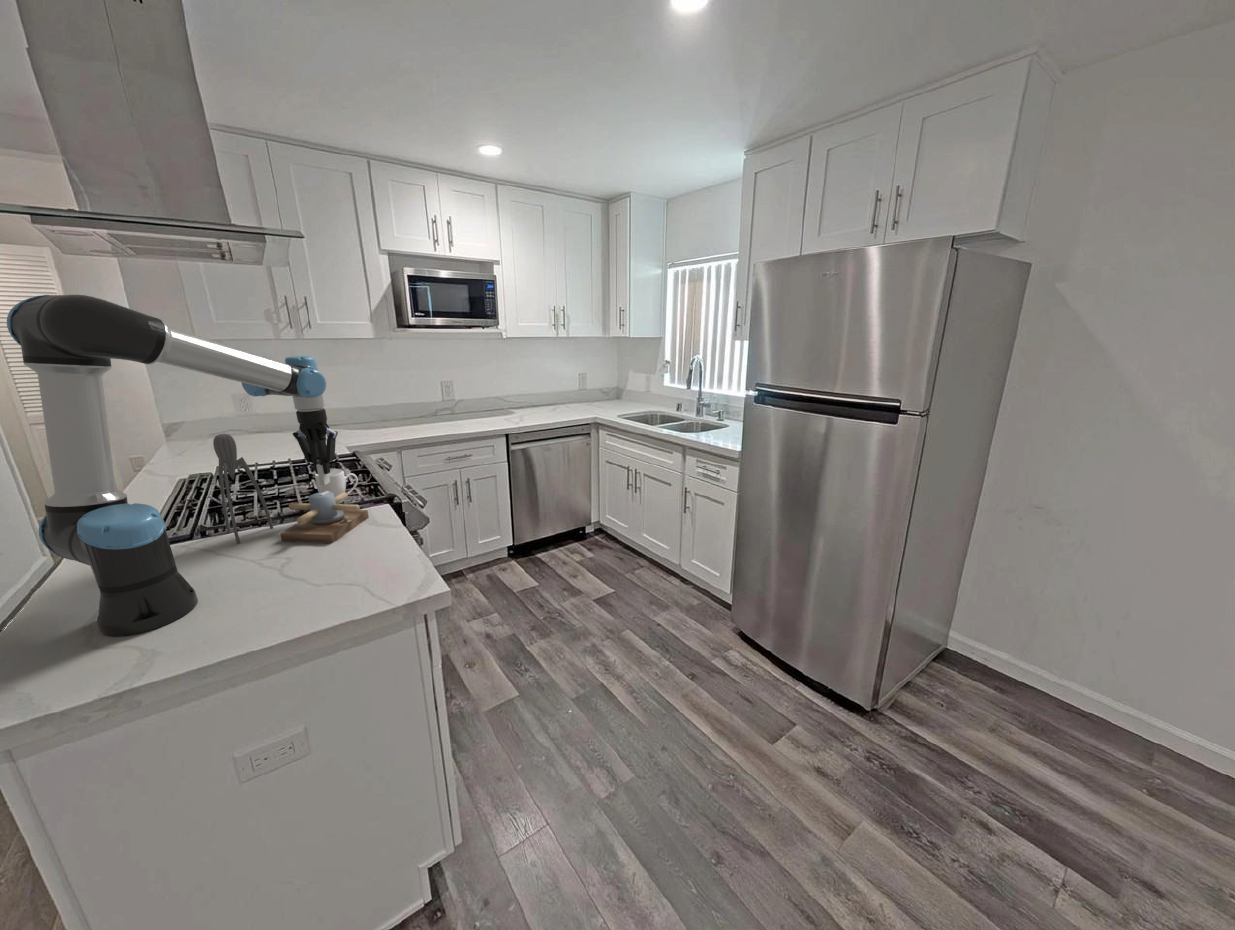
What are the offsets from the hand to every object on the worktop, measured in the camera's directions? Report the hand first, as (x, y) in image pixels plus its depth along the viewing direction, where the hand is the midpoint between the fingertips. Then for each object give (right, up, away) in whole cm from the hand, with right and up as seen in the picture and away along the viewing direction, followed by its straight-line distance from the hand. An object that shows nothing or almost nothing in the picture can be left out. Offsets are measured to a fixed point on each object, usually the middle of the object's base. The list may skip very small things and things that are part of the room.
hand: (325, 483), depth 150 cm
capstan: (+5, -10, -7) cm, 14 cm away
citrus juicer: (-18, -15, -10) cm, 25 cm away
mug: (-2, -8, +13) cm, 15 cm away
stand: (+5, -13, -7) cm, 16 cm away
